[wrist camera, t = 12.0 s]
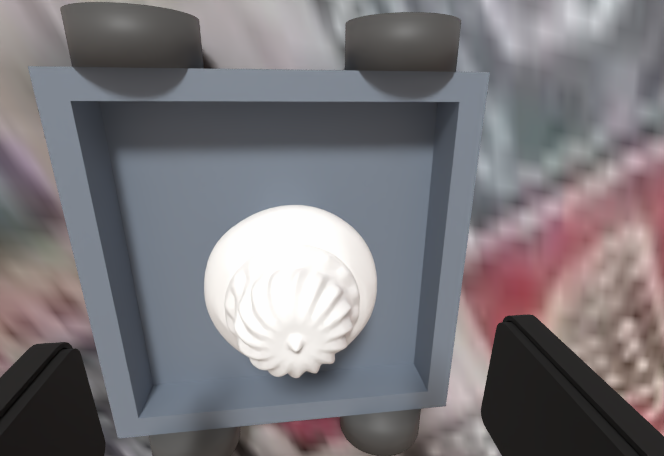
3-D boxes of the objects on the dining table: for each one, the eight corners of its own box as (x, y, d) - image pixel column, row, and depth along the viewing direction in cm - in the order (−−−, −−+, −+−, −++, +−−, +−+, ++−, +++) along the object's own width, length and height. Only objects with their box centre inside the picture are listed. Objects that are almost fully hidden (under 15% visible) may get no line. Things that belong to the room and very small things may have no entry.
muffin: (192, 271, 16) (134, 388, 10) (266, 153, 15) (256, 198, 9) (310, 331, 18) (326, 463, 12) (385, 230, 17) (451, 315, 10)
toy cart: (457, 34, 16) (513, 15, 12) (421, 387, 22) (450, 448, 18) (68, 25, 14) (-12, -2, 10) (147, 412, 20) (115, 486, 16)
